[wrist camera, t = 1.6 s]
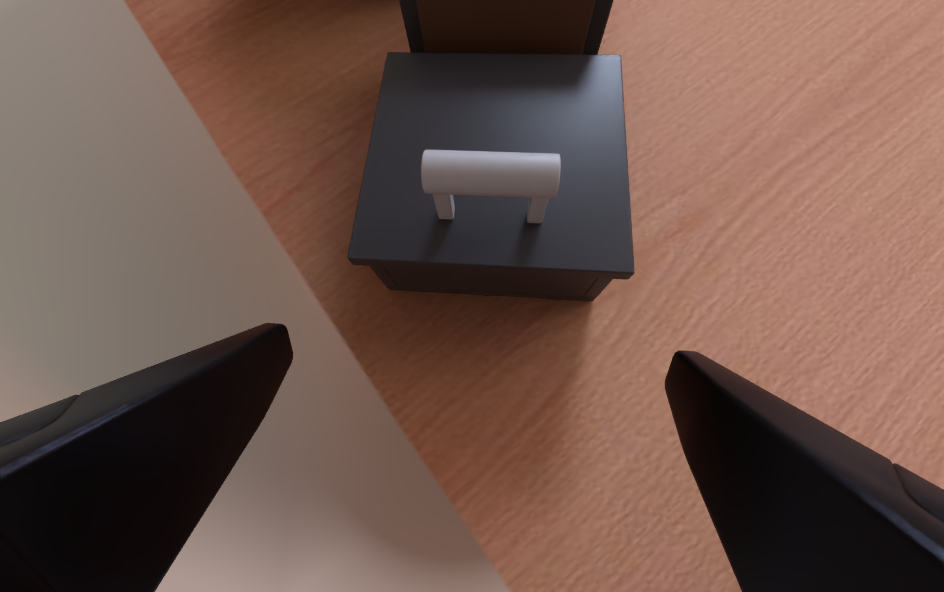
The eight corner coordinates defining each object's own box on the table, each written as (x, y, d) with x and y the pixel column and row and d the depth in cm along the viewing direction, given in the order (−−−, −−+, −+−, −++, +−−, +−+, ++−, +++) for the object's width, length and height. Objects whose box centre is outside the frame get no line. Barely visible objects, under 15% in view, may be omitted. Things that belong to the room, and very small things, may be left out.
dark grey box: (593, 301, 22) (627, 264, 17) (388, 289, 23) (356, 250, 18) (589, 143, 26) (616, 68, 20) (411, 138, 27) (390, 65, 21)
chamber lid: (628, 280, 16) (678, 230, 12) (352, 265, 17) (305, 214, 13) (616, 68, 20) (651, -29, 16) (390, 64, 21) (364, -28, 17)
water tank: (577, 124, 26) (626, -41, 17) (424, 120, 27) (389, -40, 17) (576, 59, 28) (620, -122, 19) (433, 57, 29) (406, -118, 19)
